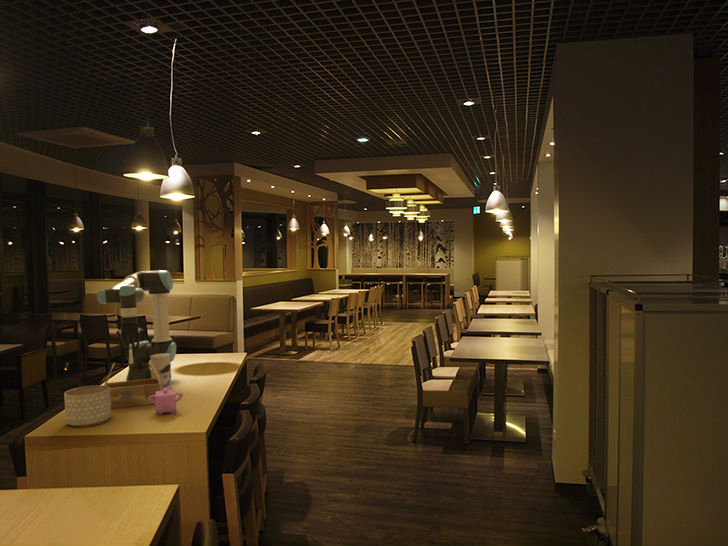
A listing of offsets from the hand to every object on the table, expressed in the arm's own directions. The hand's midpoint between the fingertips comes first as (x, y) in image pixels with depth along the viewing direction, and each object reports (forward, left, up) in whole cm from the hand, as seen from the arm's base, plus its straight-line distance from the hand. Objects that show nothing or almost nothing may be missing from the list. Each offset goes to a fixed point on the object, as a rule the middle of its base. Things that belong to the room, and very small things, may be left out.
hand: (131, 363), depth 290 cm
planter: (+26, -17, -21) cm, 37 cm away
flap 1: (0, -12, -10) cm, 16 cm away
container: (-19, +13, -21) cm, 31 cm away
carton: (0, 0, -20) cm, 20 cm away
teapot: (+25, +16, -21) cm, 36 cm away
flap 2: (0, +13, -10) cm, 16 cm away
